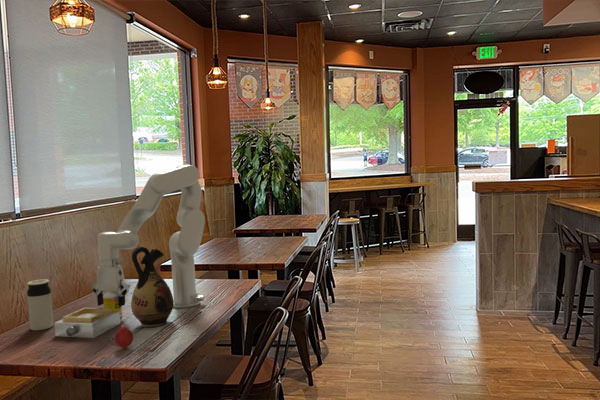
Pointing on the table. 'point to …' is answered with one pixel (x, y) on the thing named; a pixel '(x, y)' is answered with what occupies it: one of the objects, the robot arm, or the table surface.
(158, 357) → the table surface
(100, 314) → the white gold-rimmed box
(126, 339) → the onion
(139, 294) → the ceramic jug
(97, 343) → the table surface
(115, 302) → the supplement bottle
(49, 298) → the travel mug
